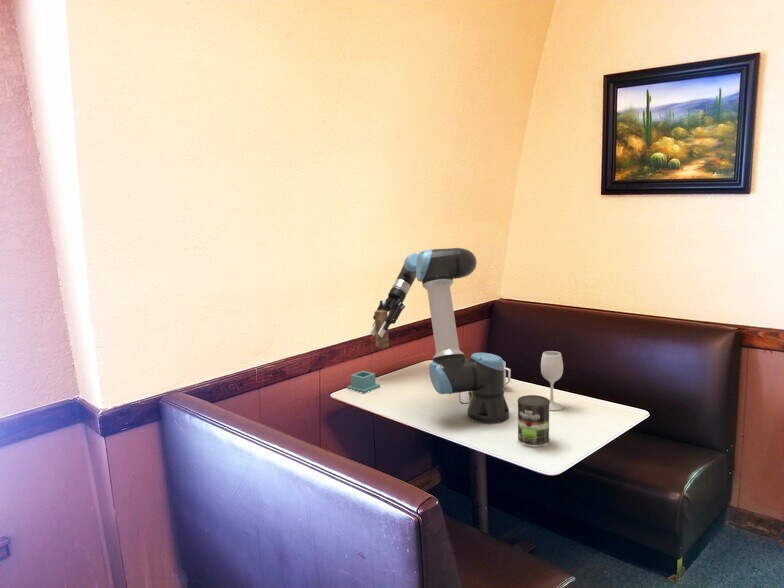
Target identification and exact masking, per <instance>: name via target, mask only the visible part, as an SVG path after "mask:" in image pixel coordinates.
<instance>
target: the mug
mask: <svg viewBox="0 0 784 588" xmlns="http://www.w3.org/2000/svg"><path fill="white" fill-rule="evenodd" d="M503 366H504V389H505V388H506V386H507V385H508V384H509V383H511V374H512V373H511V372H512V370H511V368H508V367H506V361H504V360H503ZM506 371H507V372H506Z"/></svg>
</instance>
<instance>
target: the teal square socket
mask: <svg viewBox="0 0 784 588" xmlns="http://www.w3.org/2000/svg"><path fill="white" fill-rule="evenodd" d="M350 380H351V381H350V383H351V385H347V386H346V387H347V390H348V389H352V390H355V391H354V392H356V391H358V392H357V393H360V392H362V393H361V394H367V393H369V392H372V391H374V390H377V389H379V388H381V384H379V383H377V382H376V373H375V372H370V371H365V370H360V371H359V372H355V373H353V374H351V375H350ZM376 388H377V389H376ZM373 389H374V390H373ZM352 390H351V391H352ZM371 390H372V391H371ZM368 391H369V392H368ZM366 392H367V393H366Z"/></svg>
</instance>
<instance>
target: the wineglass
mask: <svg viewBox="0 0 784 588" xmlns="http://www.w3.org/2000/svg"><path fill="white" fill-rule="evenodd" d="M563 361H564V360H563V356H562V353H561V352H559V351H554V350H548V351H547V350H546V351H543V352H542V355H541V360H540V374H541V375H542V377H543V379H545V380H546V381H547V382H549V385H550V386H549V387H550V397H549V400H550V404H549V411H561V410H563V409H564V408H565V406H564V405H563V404H562V403H560V402H557V401H555V400H554V384H555V382H557V381H559V380H560V379H561V378H562V377H563V376H562V375H563V373H564V362H563Z"/></svg>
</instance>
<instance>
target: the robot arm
mask: <svg viewBox="0 0 784 588" xmlns="http://www.w3.org/2000/svg"><path fill="white" fill-rule="evenodd" d="M476 268H477V258H476V255H475V254H474V253H473V252H472V251H470V250H469V249H466V248H462V247H453V248H451V247H450V248H433V249H432V248H430V249H426V250H425V249H424V250H423V249H422V250H421V251H420V252H419V253H416V252H415V253H414V252H412V253H410V254H407V256H406V258H405V259H404V263H403V265H402V267H401V270H400V272H399V273H398V276H397V277H396V279H395V281H394V283H393V284H392V287H391V289H390V290H389V292H388V294H387V295H388V296H387V298H386V299H385V300H382V299H381V300H380V301H379V304H378V307H377V309H376V310H375V311H379V310H385V311H387V314H388V317H387V320H386V321H387V322H386V321H384V323H383V325H382V327H381V329H380V331H379V332H378V334H379V336H380V337H383V335H384V333H385V331H386V330H387V329H388V330H389V327H390V325H392V324H393V325H395V324H396V322H397V320H398V318H399V317H400V315H401V313H402V311H404V309H405V308H406V305H405V304H404V301H405V299H406V297H407V295H408V293H409V291H410V290H411V288H412V285H413V284H414V281H415V280H417V282H421V283H422V284H421V285H422V287H423V288H424V289H425V290H426V291H427V298H428V303H429V312H430V319H431V326H432V334H433V339H434V348H435V355H434V356H433V357H432V362H431V363H430V364H429V367H428V370H429V377H430V381H431V384H432V386H433V389H434V390H435V392H437V393H438V394H439V395H451V394H452V395H453V394H457V393H459V394H460V393H465V392H466V393H468V392H471V398H470V401H469V405H468V407H467V417H468V419H469V420H472V421H474V422H477V423H481V424H483V423H484V424H498V423H501V422H504V421H506V420H508V419H510V418H509V417H510V410H509V407H508V404H507V401H506V397H505V388H504V366H503V361H504V360H503V358H502V357H501V356H499V355H497V354H493V353H490V352H489V353H488V352H474V353H471V355H470V358H465V353H464V352H463V351H461V350H460V345H459V339H458V337H459V336H458V333H457V325H456V318H455V310H454V304H453V299H452V291H451V286H452V285H453V284H454V280H456V279H462V278H465V277H468V276H470V275H471V274H472V273H473V272H475V270H476ZM372 319H373V320H374V322H373V324H372V327H371V329H370V332H369V333H370V334H371V336H372V337H376V333H375V313H374V314H373V316H372Z"/></svg>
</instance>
